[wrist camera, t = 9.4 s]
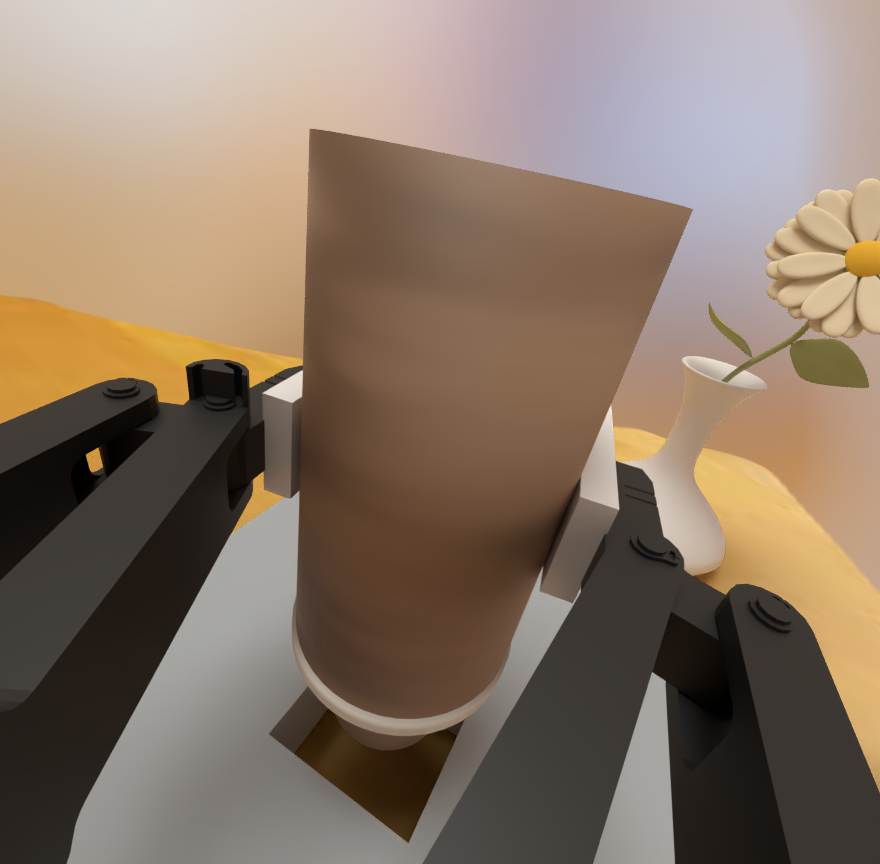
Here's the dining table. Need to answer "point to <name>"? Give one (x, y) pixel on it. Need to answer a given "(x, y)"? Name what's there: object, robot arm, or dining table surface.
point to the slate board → (289, 723)
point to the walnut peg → (448, 411)
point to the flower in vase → (816, 360)
